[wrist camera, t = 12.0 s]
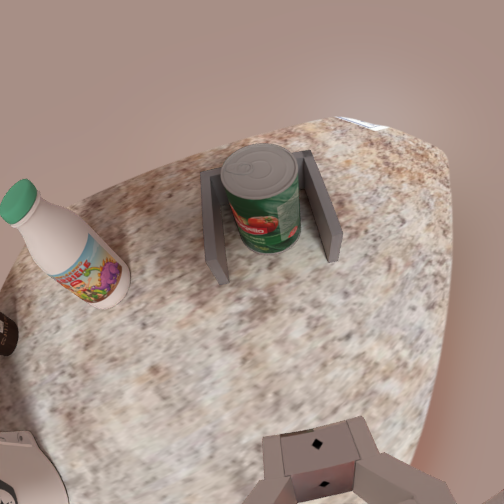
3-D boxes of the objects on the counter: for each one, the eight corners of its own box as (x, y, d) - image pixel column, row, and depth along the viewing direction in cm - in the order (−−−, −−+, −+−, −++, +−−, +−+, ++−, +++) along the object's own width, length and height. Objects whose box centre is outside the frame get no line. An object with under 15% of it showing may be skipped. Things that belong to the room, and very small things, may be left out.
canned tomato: (304, 207, 40) (302, 144, 31) (296, 259, 37) (292, 201, 27) (247, 202, 42) (231, 141, 33) (233, 251, 39) (210, 194, 29)
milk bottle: (82, 279, 40) (-10, 198, 23) (121, 250, 41) (39, 153, 24) (96, 321, 36) (-14, 245, 19) (140, 290, 38) (42, 193, 21)
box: (219, 284, 36) (205, 261, 31) (211, 201, 43) (200, 172, 38) (337, 260, 36) (343, 233, 30) (310, 180, 42) (310, 149, 37)
